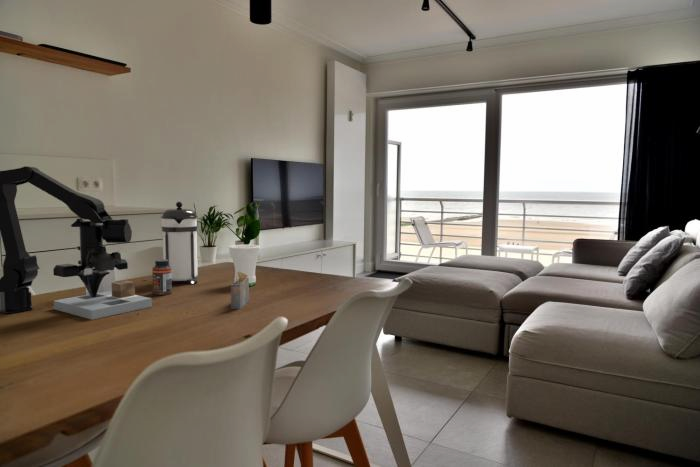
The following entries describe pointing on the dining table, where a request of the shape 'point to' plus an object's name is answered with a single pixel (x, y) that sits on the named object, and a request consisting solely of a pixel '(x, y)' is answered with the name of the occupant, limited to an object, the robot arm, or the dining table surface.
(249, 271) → the cup
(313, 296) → the dining table surface
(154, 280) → the supplement bottle
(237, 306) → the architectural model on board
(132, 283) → the walnut block
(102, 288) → the jar
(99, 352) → the dining table surface
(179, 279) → the coffee press
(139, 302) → the trap deck
